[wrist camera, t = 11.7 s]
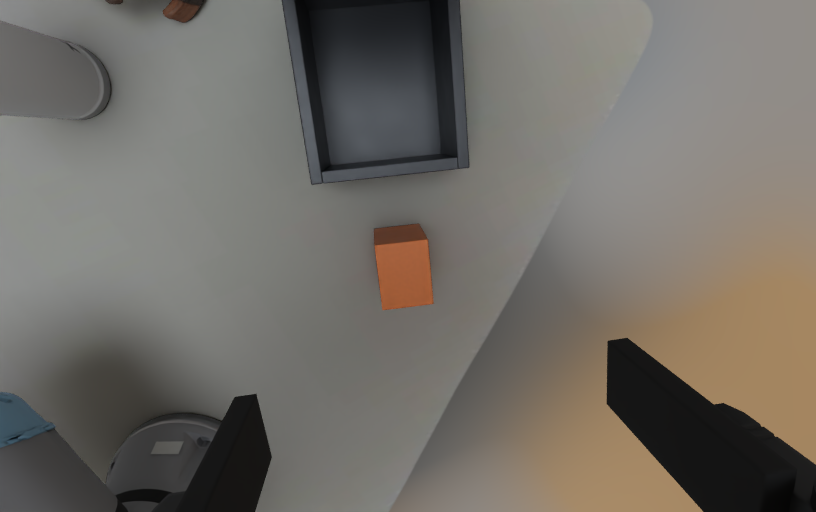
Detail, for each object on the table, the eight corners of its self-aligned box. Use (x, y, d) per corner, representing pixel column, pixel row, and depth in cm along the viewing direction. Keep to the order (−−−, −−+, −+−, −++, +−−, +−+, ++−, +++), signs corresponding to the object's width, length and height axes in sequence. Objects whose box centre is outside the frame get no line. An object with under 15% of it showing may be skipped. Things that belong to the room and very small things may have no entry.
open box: (449, 161, 42) (469, 167, 33) (323, 175, 41) (311, 184, 32) (437, -9, 38) (456, -52, 29) (297, 3, 37) (275, -38, 28)
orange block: (424, 279, 45) (433, 304, 38) (380, 284, 44) (382, 310, 38) (419, 223, 43) (427, 239, 36) (373, 228, 43) (374, 245, 36)
